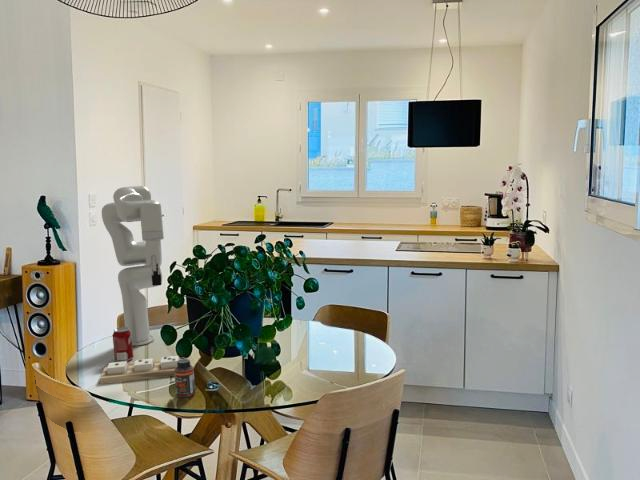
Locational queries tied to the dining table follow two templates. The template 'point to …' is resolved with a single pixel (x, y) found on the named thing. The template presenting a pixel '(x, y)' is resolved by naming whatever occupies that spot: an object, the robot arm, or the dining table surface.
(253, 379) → the dining table surface
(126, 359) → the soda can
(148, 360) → the tile
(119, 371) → the tile
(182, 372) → the supplement bottle
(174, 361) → the tile
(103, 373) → the board
